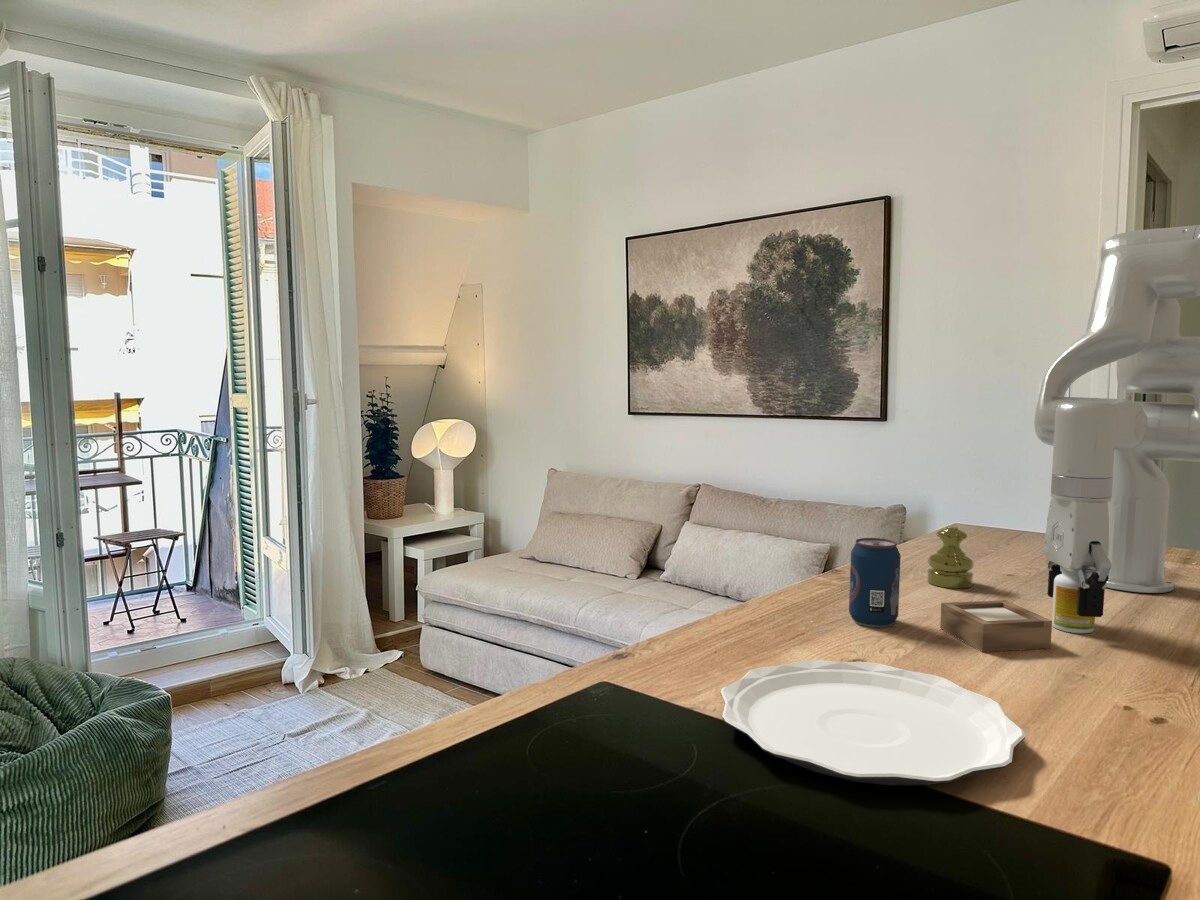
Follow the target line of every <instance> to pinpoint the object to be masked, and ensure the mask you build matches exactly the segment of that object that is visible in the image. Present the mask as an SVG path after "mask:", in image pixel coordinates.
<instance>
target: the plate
mask: <svg viewBox="0 0 1200 900" xmlns="http://www.w3.org/2000/svg"><path fill="white" fill-rule="evenodd" d="M720 696H721V698H722V701H723V702H724V707H723V712H722V715H721V716H722V717H721V718H722V720H723V721H724V723H725V724H726V725H728V726H730V727H731V728H733V729H735V730H737V731H739V732H740V733H742V734H745V735H746V736H747V737H749V738H750V739H751V741H753V742H754V743H755V745H757V746H758V747H759V748H760V749H761V750H762V751H763V752H765V753H768V754H770V755H773V756H774V757H777V758H780V759H783V760H785V761H786V762H788V763H790V764H792V765H796V766H798V767H801V768H804V769H806V770H809V771H811V772H813V773H818V774H821V775H825V776H829V777H833V778H838V779H842V780H847V781H849V782H855V783H865V784H873V785H882V786H898V787H899V786H928V785H934V784H944V783H951V782H953V781H956V780H959V779H962V778H967V777H972V776H976V775H980V774H984V773H988V772H992V771H997V770H1001V769H1005V768H1007V767H1009V766H1010V765H1012V761H1013V755H1014V749H1015V748H1016V747H1018V745H1019V744H1021V743H1022V742H1023V741H1025V739H1026V734H1025V731H1024V730H1023V729H1022V728H1021V727H1020V726H1018V725H1017V724H1016V723H1015V722H1013V720H1012V719H1010V718H1008V716H1007V714H1006V713H1005V711H1004V709H1003V707H1002V706H1001V704H1000V703H998V702H996V701H995V700H993V699H992V698H990V697H988V696H985V695H982V694H980V693H976V692H973V691H971V690H969V689H966V688H963V687H962V686H961V685H958V684H957V683H954V682H952V681H951V680H949V679H947V678H945V677H941V676H938V675H935V674H930V673H925V672H919V671H912V670H906V669H903V668H902V669H901V668H897V667H895V666H890V665H887V664H884V663H883V664H882V663H879V662H872V661H871V662H870V661H833V660H823V659H822V660H821V659H802V660H799V661H794V662H790V663H789V662H788V663H785V664H781V665H770V666H759V667H756V668H753V669H750V670H749V671H748V672H747V673H746V674H745V675H743V676H742V678H740V679H738V680H736V681H734V682H732V683H730V684H727V685H726V686H724V687H723V686H722V688H721V690H720Z"/></svg>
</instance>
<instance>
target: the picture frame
mask: <svg viewBox="0 0 1200 900" xmlns="http://www.w3.org/2000/svg"><path fill="white" fill-rule="evenodd" d="M939 624H940V627H939V629H940V628H941V629H940V630H942V629H943V630H945V631H946V632H945V631H944V632H945V633H947V632H948V633H947V634H949V633H950V634H952V635H954V636H956V637H957V638H956V637H955V638H956V639H958V638H959V639H961V640H963V641H964V642H963V641H962V642H963V643H965V642H966V643H965V644H967V643H968V644H970V645H972V646H973V647H972V646H971V647H972V648H974V647H975V648H974V649H976V648H977V649H979V650H980V652H981V651H982V652H981V653H990V652H989V651H994V652H1009V650H1013V651H1021V650H1020V649H1031V650H1040V649H1039V648H1049V649H1051V648H1052V631H1053V630H1052V627H1053V626H1052V619H1049V618H1047V617H1045V616H1042V615H1040V614H1037V613H1036V612H1033V611H1031V610H1030V609H1029V610H1028V609H1027V608H1023V607H1022V606H1019V605H1017V604H1015V603H1013V602H1010V601H1008V600H1004V599H1003V600H1001V599H999V600H980V601H979V600H978V601H956V602H941V606H940V623H939ZM943 630H942V631H943ZM950 634H949V635H950ZM952 635H951V636H952ZM954 636H953V637H954ZM959 639H958V640H959ZM961 640H960V641H961ZM968 644H967V645H968ZM970 645H969V646H970ZM977 649H976V650H977ZM979 650H978V651H979Z"/></svg>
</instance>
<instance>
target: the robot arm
mask: <svg viewBox="0 0 1200 900" xmlns="http://www.w3.org/2000/svg"><path fill="white" fill-rule="evenodd" d="M1100 261H1101V263H1100V266H1099V269H1098V274H1097V279H1096V284H1095V289H1094V292H1093V298H1092V302H1091V307H1090V312H1089V317H1088V321H1087V327H1086V330H1085V334H1084V335H1082V337H1080V338H1079V339H1077V340H1076V341H1075V342H1073V343H1072V344H1071V345H1070V346H1068V347H1067V348H1066V349H1065V350H1064V351H1063V352H1061V354H1060V355H1059V356H1058V357H1057V358H1056V359H1055V360H1054V361H1053V363H1052V364H1051V365H1050V366H1049V368H1048V369H1047V371H1046V373H1045V374H1044V377H1043V379H1042V382H1041V387H1040V391H1039V395H1038V399H1037V404H1036V408H1035V414H1034V432H1035V434H1036V436H1037V439H1039V441H1041V443H1043V444H1045V445H1049V446H1053V449H1052V450H1053V451H1052V465H1051V466H1052V469H1051V481H1050V482H1051V485H1050V497H1051V499H1050V502H1049V503H1050V504H1049V506H1048V512H1047V520H1046V526H1045V535H1044V548H1043V554H1044V556H1045V557H1046V558H1047V559H1048V560H1049V561H1048V563H1047V566H1048V567H1047V568H1048V578H1047V596H1048V597H1050V598H1053V590H1054V579H1055V577H1056V576H1057V575H1060V574H1062V571H1060V566H1061V567H1063V568H1065V569H1067V570H1069V571H1075V570H1076V568H1077V570H1078V574H1079V577H1080V581H1081V585H1082V587H1078V602H1077V614H1078V615H1079V616H1083V617H1095V618H1101V617H1103V616H1104V604H1105V603H1104V602H1105V590H1106V589H1107V588H1109V589H1113V590H1118V591H1125V592H1131V593H1132V592H1133V593H1140V594H1141V593H1142V594H1143V593H1144V594H1146V593H1147V594H1162V593H1169V592H1172V591H1173V590H1174V587H1175V583H1174V581H1173V580H1171V579H1170V578H1167V577H1165V576H1164V575H1165V561H1166V549H1167V535H1168V534H1167V533H1168V520H1169V505H1170V493H1171V490H1170V484H1169V480H1168V479H1167V477H1166V475H1165V474H1164V472H1163V471H1162V470H1161V469H1160V467H1159V466H1158V465H1157V464H1156V462H1155V460H1157V461H1159V460H1160V461H1161V460H1165V461H1166V460H1167V461H1180V462H1197V463H1198V462H1200V336H1181V335H1180V321H1181V305H1180V303H1179V302H1178V300H1177V299H1189V298H1191V299H1192V298H1198V297H1200V224H1195V225H1194V224H1193V225H1183V226H1174V227H1173V226H1172V227H1163V228H1162V227H1159V228H1147V229H1139V230H1132V231H1126V232H1121V233H1118V234H1117V233H1116V234H1114V235H1112V236H1110V237H1108V238H1107V239H1106V240H1104V241H1103V243H1102V245H1101V249H1100ZM1115 362H1116V381H1117V384H1118V385H1119V387H1120V388H1121V389H1122V390H1124V391H1126V392H1129V393H1135V394H1147V395H1177V396H1178V395H1179V396H1181V395H1183V396H1184V395H1185V396H1187V395H1188V396H1191V397H1193V399H1194V400H1195V401H1194V403H1193V402H1192V403H1187V402H1186V403H1185V402H1183V403H1182V402H1163V401H1133V400H1130V399H1126V398H1125V399H1124V398H1108V397H1107V398H1106V397H1104V398H1103V397H1079V396H1078V397H1076V396H1073V397H1072V396H1071V397H1070V396H1065V395H1066V393H1067V391H1068V390H1069V388H1070V387H1071V386H1072V384H1073V383H1075V382H1076V381H1077V380H1078V379H1079V378H1081V377H1082V376H1085V375H1086V374H1087V373H1089V372H1092V371H1093V370H1094V371H1095V370H1096V369H1099V368H1101V367H1104V366H1106V365H1109V364H1112V363H1115ZM1083 565H1087V566H1083ZM1087 573H1092V574H1091V575H1090V577H1089V578H1088V577H1087Z"/></svg>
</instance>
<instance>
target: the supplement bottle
mask: <svg viewBox="0 0 1200 900" xmlns="http://www.w3.org/2000/svg"><path fill="white" fill-rule="evenodd" d="M1083 566H1087V565H1083ZM1060 571H1062V574H1060V575H1057V576H1056V577H1055V579H1054V590H1053V597H1052V606H1051V607H1052V608H1051V621H1052V627H1053V628H1055V629H1057V630H1059V631H1062V632H1067V633H1070V632H1071V634H1072V633H1073V634H1090V633H1093V632H1094V631H1095V619H1096V617H1083V616H1079V615H1078V614H1077V602H1078V587H1082V585H1081V581H1080V577H1079V574H1078V570H1077V568H1076V570H1075V571H1069V570H1067V569H1065V568H1063V567H1061V566H1060ZM1091 574H1092V573H1087V577H1088V578H1089V577H1090V575H1091Z"/></svg>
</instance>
